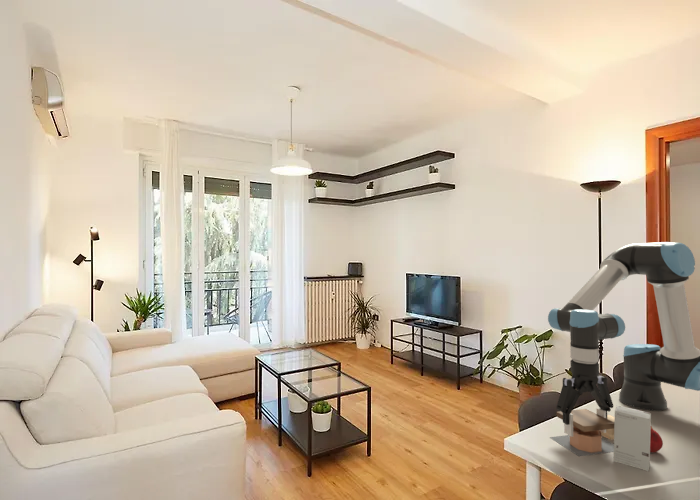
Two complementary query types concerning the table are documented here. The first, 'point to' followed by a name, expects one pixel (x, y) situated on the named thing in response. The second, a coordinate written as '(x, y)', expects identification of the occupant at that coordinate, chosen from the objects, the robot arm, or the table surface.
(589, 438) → the bowl
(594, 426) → the board
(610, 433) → the light wooden block
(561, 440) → the placemat
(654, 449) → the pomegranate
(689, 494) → the table surface
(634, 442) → the skincare box
